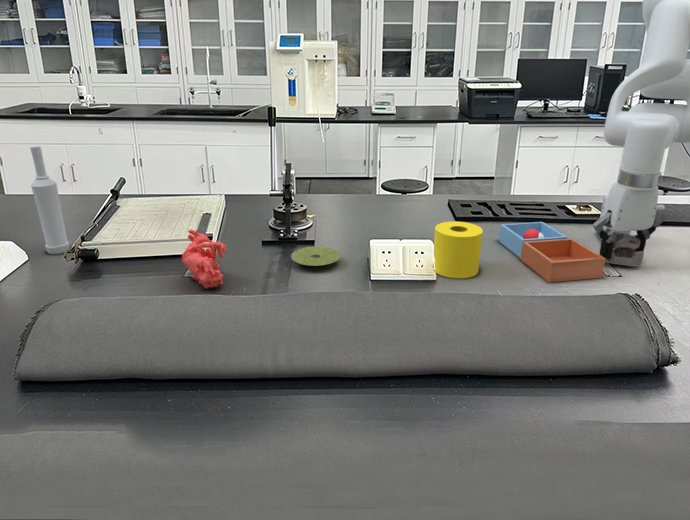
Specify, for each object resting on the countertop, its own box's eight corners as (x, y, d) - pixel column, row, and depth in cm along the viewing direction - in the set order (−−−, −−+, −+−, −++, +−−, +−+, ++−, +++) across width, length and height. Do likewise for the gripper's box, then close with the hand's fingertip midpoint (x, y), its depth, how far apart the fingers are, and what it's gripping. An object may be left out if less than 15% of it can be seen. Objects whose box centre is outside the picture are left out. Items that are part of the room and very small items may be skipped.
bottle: (75, 248, 129) (53, 145, 119) (56, 256, 125) (32, 149, 115) (60, 245, 131) (37, 143, 121) (41, 252, 127) (16, 147, 117)
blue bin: (540, 238, 136) (542, 221, 134) (564, 254, 126) (568, 237, 124) (498, 241, 134) (500, 224, 132) (520, 258, 124) (522, 240, 122)
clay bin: (569, 256, 125) (572, 238, 123) (601, 277, 114) (605, 258, 112) (520, 259, 123) (522, 241, 121) (548, 282, 112) (552, 262, 110)
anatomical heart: (212, 302, 106) (191, 254, 100) (182, 284, 114) (162, 238, 108) (246, 279, 111) (229, 231, 105) (216, 263, 119) (198, 218, 113)
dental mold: (643, 257, 121) (648, 237, 119) (640, 268, 116) (645, 247, 114) (605, 250, 125) (609, 230, 123) (600, 261, 120) (604, 240, 118)
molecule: (520, 247, 129) (523, 231, 127) (522, 241, 133) (525, 225, 131) (542, 250, 127) (545, 233, 125) (543, 243, 131) (546, 227, 129)
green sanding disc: (318, 250, 128) (317, 242, 128) (350, 263, 121) (351, 255, 120) (281, 262, 121) (280, 255, 120) (313, 277, 114) (313, 269, 113)
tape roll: (451, 281, 112) (454, 240, 108) (423, 265, 120) (426, 225, 116) (487, 272, 116) (492, 232, 112) (458, 257, 124) (462, 219, 121)
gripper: (660, 172, 117) (643, 246, 124) (589, 176, 114) (575, 252, 122) (686, 181, 110) (666, 258, 118) (611, 186, 108) (595, 265, 115)
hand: (620, 255), depth 120 cm, fingers closed on dental mold, 7 cm apart
